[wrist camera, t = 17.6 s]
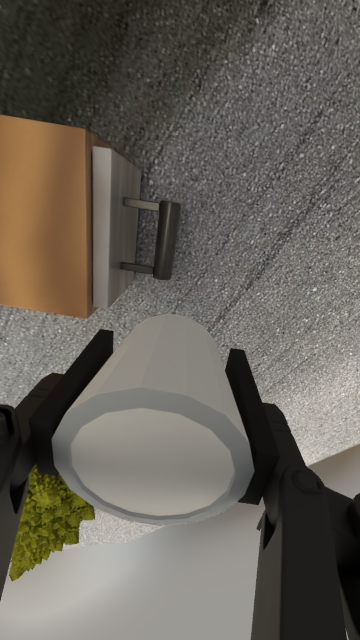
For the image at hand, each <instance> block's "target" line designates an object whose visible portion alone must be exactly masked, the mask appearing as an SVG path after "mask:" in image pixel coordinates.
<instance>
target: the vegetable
mask: <svg viewBox="0 0 360 640" xmlns="http://www.w3.org/2000/svg"><path fill="white" fill-rule="evenodd" d="M93 519H95V513H94V507H93V506H92V505H91V504H89V503H88V502H87V501H85V500H84V499H83V498H81V497H80V496H78V495H77V494H76V493H74V492H73V491H72V490H70V488H69V487H68V485H67V484H66V482H65V481H64V479H63V478H62V476H61V475H60V473H59V475H58V476H53V475H46V474H39V473H37V467H36V464H35V466H34V467H33V469H32V471H31V472H30V474H29V487H28V491H27V495H26V499H25V503H24V507H23V511H22V515H21V519H20V523H19V527H18V532H17V536H16V540H15V544H14V548H13V552H12V556H11V558H12V560H11V561H10V562H12V566H11V568H10V574H9V576H10V578H11V580H12V581H14V580H16V579H18V578H19V577H20V576H21V575H22V574H23V573H24V572H25V571H26V570H28V571H29V570H30V568H31V569H33V568H34V566H35V565H36V564H41V562H42V558H43V559H45V560H47V559H48V557H49V554H50V551H52V552H54V551H62V548H63V543H65V544H66V545H67V544H70V545H71V544H77V543H79V532H78V531H79V529H78V528H79V526H80V525H79V524H80V521H82V520H93Z"/></svg>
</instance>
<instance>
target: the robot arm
mask: <svg viewBox="0 0 360 640" xmlns="http://www.w3.org/2000/svg"><path fill="white" fill-rule="evenodd" d="M113 333H114V331H110V330H103V329H100V330H99V331H98V333H97V334H96V335H95V336H94V338H93V339H92V340H91V341H90V343H89V344H88V345H87V346H86V348H85V349H84V350H83V351H82V353H81V354H80V355H79V356H78V358H77V359H76V360H75V361H74V363H73V364H72V365H71V367H70V368H69V369H68V370H67V372H66V373H65V374H58V373H51V374H49V375H48V376H46V377H44V378H43V379H41V380H40V382H39V383H38V384H37V385H36V386H35V387H34V389H32V390H31V391H30V393H29V394H28V396H26V397H25V398H24V399H23V400H22V401H21V402H20V404H19V405H18V406H17V407H16V408H15V409H14V407H12V406H9V405H0V600H1V596H2V592H3V588H4V584H5V580H6V576H7V572H8V567H9V564H10V560H11V556H12V552H13V548H14V544H15V540H16V536H17V532H18V527H19V523H20V519H21V515H22V511H23V507H24V503H25V499H26V495H27V491H28V487H29V474H30V472H31V471H32V469H33V467H34V466H35V464H36V467H37V473H39V474H46V475H53V476H58V475H59V472H58V470H57V469H56V467H55V466H54V458H53V448H52V437H53V435H54V433H55V432H56V430H57V428H58V426H59V424H60V422H61V420H62V419H63V417H64V415H65V413H66V412H67V411H68V409H69V408H70V407H71V406H72V404H73V403H74V402H75V401H76V399H77V398H78V397H79V396H80V394H81V393H82V392H83V391H84V389H85V388H86V387H87V386H88V384H89V383H90V382H91V381H92V379H93V378H94V377H95V376H96V374H97V373H98V372H99V371H100V369H101V368H102V367H103V366H104V364H105V363H106V362H107V360H108V359H109V358H110V357H111V355H112V354H113ZM225 372H226V375H227V378H228V381H229V384H230V387H231V390H232V393H233V396H234V399H235V402H236V405H237V408H238V411H239V414H240V417H241V420H242V423H243V426H244V429H245V432H246V435H247V438H248V441H249V445H250V450H251V455H252V460H253V466H254V473H253V476H252V478H251V480H250V483H249V485H248V487H247V490H246V492H245V494H244V496H243V497H242V498H240V499H239V500H238V502H241V503H248V504H255V505H258V504H259V502H260V500H261V498H262V496H263V500H264V504H265V508H266V509H265V511H264V513H263V515H262V517H261V519H260V521H259V523H258V526H257V529H258V530H259V531H260V529H261V536H260V547H259V558H258V569H257V579H256V590H255V600H254V612H253V623H252V633H251V640H347V636H346V631H347V634H348V638H349V640H360V493H359V494H358V495H356V496H355V497H354V499H351V498H349V497H346V496H344V495H342V494H340V493H338V492H335V491H333V490H331V489H329V488H327V487H325V486H324V484H323V482H322V481H321V479H320V478H319V477H318V476H317V475H316V474H315V473H314V472H313V471H312V470H311V469H309V468H307V467H306V465H305V463H304V460H303V458H302V456H301V453H300V451H299V449H298V446H297V444H296V442H295V439H294V437H293V435H292V434H291V430H290V428H289V426H288V425H287V424H288V423H287V421H286V419H285V416H284V414H283V413H282V411H281V410H280V409H279V408H278V407H277V406H276V405H275V404H269V403H262V401H261V398H260V395H259V392H258V389H257V386H256V383H255V381H254V378H253V375H252V372H251V369H250V366H249V363H248V360H247V357H246V355H245V352H244V350H240V349H233V348H231V349H230V353H229V357H228V361H227V365H226V369H225ZM345 628H346V629H345Z"/></svg>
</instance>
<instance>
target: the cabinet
mask: <svg viewBox="0 0 360 640" xmlns="http://www.w3.org/2000/svg"><path fill="white" fill-rule="evenodd" d="M93 146H97V147H103V148H109V149H112V148H111V147H109V146H108V145H107V144H105V143H104V142H102V141H101V140H100V139H98V138H97V137H96V136H94V135H93V134H92V133H90V132H88V131H87V130H86V129H84V128H78V127H72V126H66V125H60V124H54V123H48V122H42V121H36V120H30V119H24V118H18V117H12V116H6V115H0V305H5V306H12V307H18V308H24V309H30V310H37V311H43V312H49V313H55V314H62V315H68V316H74V317H80V318H89V317H90V316H91V315H92V314H93V313H94V312H95V311H96V310H97V309H98V308H96V307H93V282H92V243H91V167H92V147H93ZM112 150H113V149H112ZM113 151H115V150H113ZM115 152H116V151H115ZM116 153H117V152H116ZM118 154H119V153H118ZM119 155H120V154H119ZM120 156H121V155H120ZM122 157H123V156H122ZM123 158H124V157H123ZM124 159H126V158H124ZM126 160H127V159H126ZM127 161H128V160H127ZM130 163H131V162H130Z"/></svg>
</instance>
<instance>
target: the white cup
mask: <svg viewBox="0 0 360 640" xmlns="http://www.w3.org/2000/svg"><path fill="white" fill-rule="evenodd" d="M52 448H53V458H54V466H55V467H56V469H57V470H58V472H59V473H60V475H61V476H62V478H63V479H64V481H65V482H66V484H67V485H68V487H69V488H70V490H72V491H73V492H74V493H76V494H77V495H78V496H80V497H81V498H83V499H84V500H85V501H87V502H88V503H89V504H91V505H92V506H93V507H95V508H97V509H99V510H102V511H104V512H107V513H109V514H112V515H114V516H117V517H119V518H122V519H124V520H127V521H134V522H140V523H146V524H153V525H159V526H161V525H175V524H189V523H195V522H198V521H201V520H204V519H206V518H209V517H212V516H215V515H218V514H221V513H223V512H224V511H225V510H227V509H228V508H229V507H230V506H232V505H233V504H234V503H235V502H237V501H238V500H239V499H240V498H242V497H243V496H244V494H245V492H246V490H247V487H248V485H249V483H250V480H251V478H252V476H253V473H254V466H253V460H252V455H251V450H250V445H249V441H248V438H247V435H246V432H245V429H244V426H243V423H242V420H241V417H240V414H239V411H238V408H237V405H236V402H235V399H234V396H233V393H232V390H231V387H230V384H229V381H228V378H227V375H226V372H225V369H224V366H223V364H222V361H221V358H220V355H219V352H218V349H217V346H216V343H215V340H214V339H213V338H212V336H211V335H210V334H209V332H208V331H207V330H206V328H205V327H204V326H202V325H201V324H199V323H197V322H195V321H194V320H192V319H190V318H189V317H186V316H180V315H173V314H163V315H158V316H153V317H148V318H147V319H146V320H144V321H143V322H141V323H140V324H138V325H137V326H135V327H134V328H133V329H132V330H131V332H130V333H129V334H128V335H127V337H126V338H125V339H124V340H123V342H122V343H121V344H120V345H119V347H118V348H117V349H116V350H115V352H114V353H113V354H112V355H111V357H110V358H109V359H108V360H107V362H106V363H105V364H104V366H103V367H102V368H101V369H100V371H99V372H98V373H97V374H96V376H95V377H94V378H93V379H92V381H91V382H90V383H89V384H88V386H87V387H86V388H85V389H84V391H83V392H82V393H81V394H80V396H79V397H78V398H77V399H76V401H75V402H74V403H73V404H72V406H71V407H70V408H69V409H68V411H67V412H66V413H65V415H64V417H63V419H62V420H61V422H60V424H59V426H58V428H57V430H56V432H55V433H54V435H53V437H52Z"/></svg>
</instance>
